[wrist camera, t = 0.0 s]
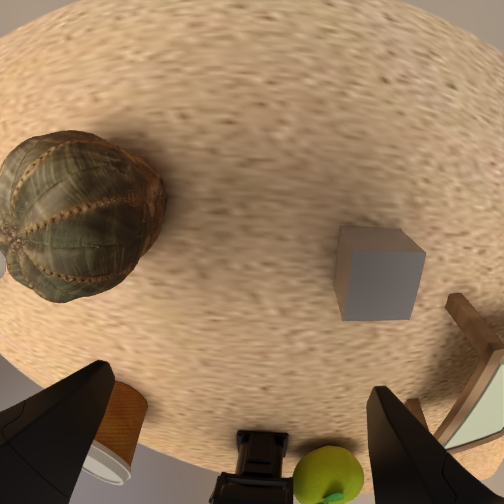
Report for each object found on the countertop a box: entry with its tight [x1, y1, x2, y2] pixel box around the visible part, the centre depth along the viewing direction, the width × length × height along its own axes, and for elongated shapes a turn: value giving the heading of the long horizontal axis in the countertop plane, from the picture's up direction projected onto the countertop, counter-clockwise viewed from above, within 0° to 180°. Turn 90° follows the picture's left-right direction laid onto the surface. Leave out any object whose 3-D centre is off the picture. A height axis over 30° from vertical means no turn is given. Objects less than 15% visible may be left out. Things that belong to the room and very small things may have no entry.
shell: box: [0, 130, 167, 303], centre depth 16 cm, size 11×11×12 cm
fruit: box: [293, 445, 364, 504], centre depth 28 cm, size 9×9×10 cm
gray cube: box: [334, 226, 426, 321], centre depth 19 cm, size 5×5×5 cm
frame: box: [405, 293, 504, 455], centre depth 20 cm, size 16×13×8 cm
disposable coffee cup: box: [82, 381, 148, 485], centre depth 27 cm, size 10×10×12 cm
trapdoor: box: [443, 356, 504, 449], centre depth 17 cm, size 12×9×1 cm
